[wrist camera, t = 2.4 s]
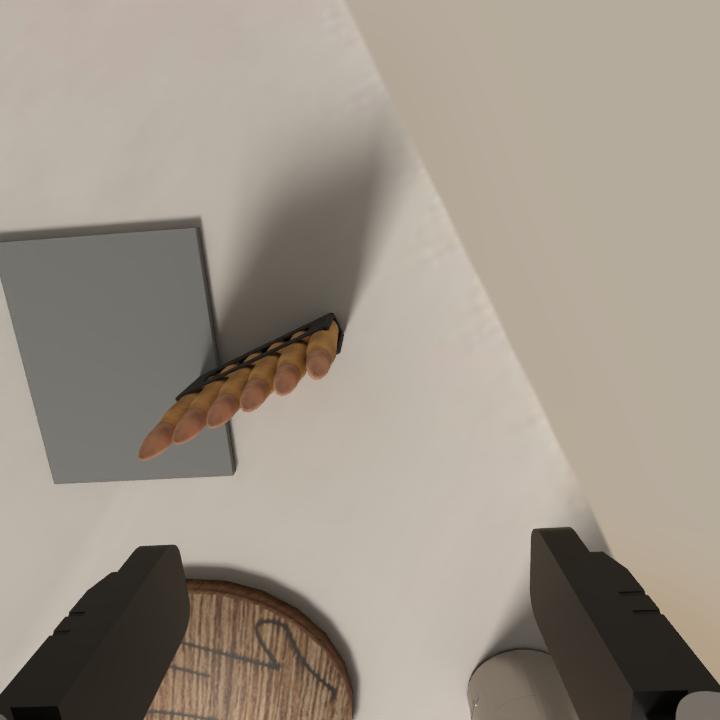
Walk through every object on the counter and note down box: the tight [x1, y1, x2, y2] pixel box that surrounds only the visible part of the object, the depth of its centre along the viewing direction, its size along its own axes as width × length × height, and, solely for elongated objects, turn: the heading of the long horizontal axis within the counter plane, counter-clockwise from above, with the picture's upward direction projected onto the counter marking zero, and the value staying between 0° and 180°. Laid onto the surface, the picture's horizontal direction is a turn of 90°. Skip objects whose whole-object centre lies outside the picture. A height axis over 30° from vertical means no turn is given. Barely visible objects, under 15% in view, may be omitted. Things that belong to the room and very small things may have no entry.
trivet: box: [144, 579, 353, 720], centre depth 39 cm, size 25×25×2 cm
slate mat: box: [0, 228, 235, 484], centre depth 32 cm, size 14×18×1 cm
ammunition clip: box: [138, 313, 344, 461], centre depth 25 cm, size 11×2×12 cm, turn 116°
